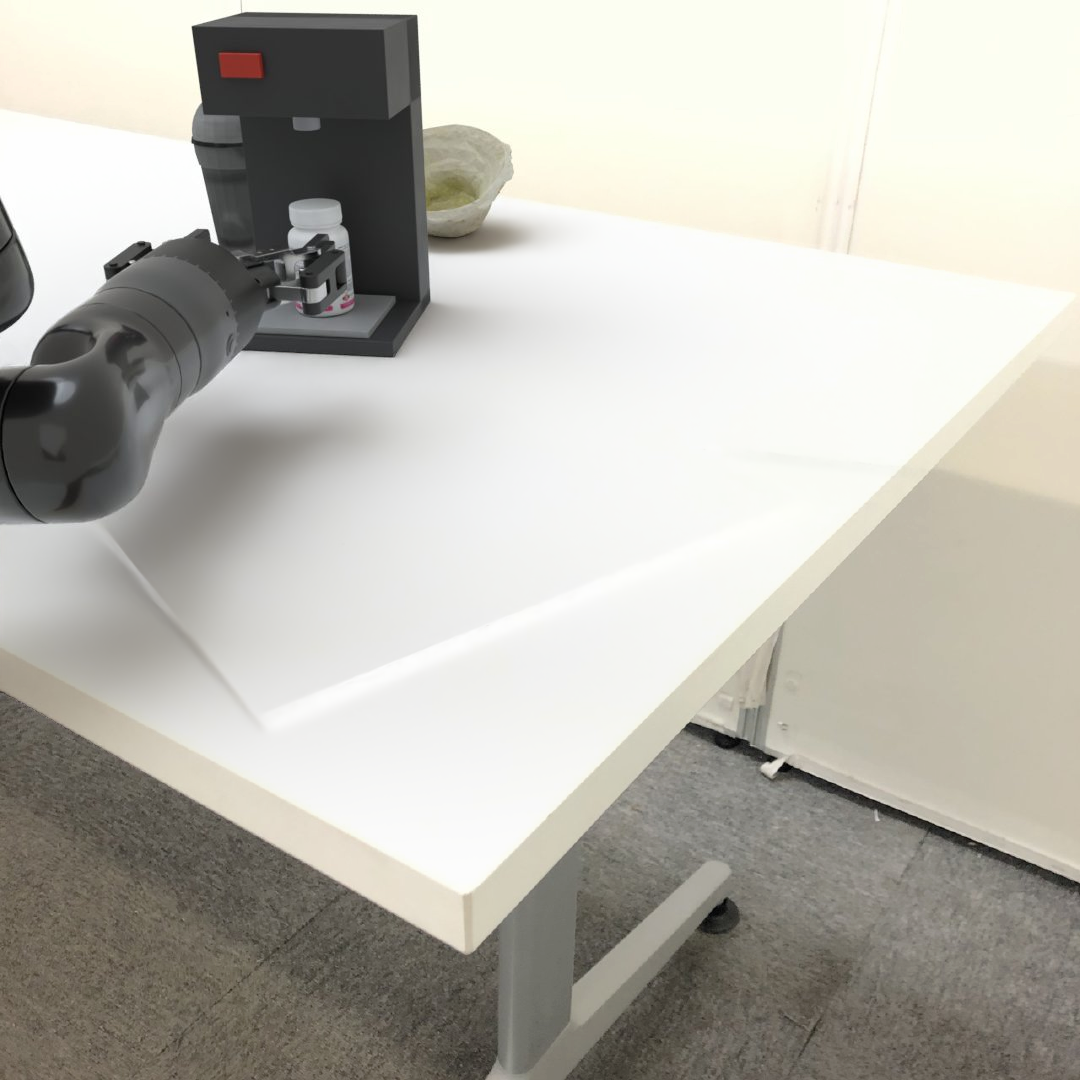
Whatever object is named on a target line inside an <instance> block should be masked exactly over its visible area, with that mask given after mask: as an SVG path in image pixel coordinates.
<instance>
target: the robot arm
mask: <svg viewBox="0 0 1080 1080" xmlns="http://www.w3.org/2000/svg"><path fill="white" fill-rule="evenodd" d="M270 261H274V265H275V272H274V271H273V270H272V269H271V268H270V267H269V266H267V265H266V264H265V263H266V262H270ZM300 261H303V266H304V267H302V268H299V269H298V270H299V278H297V279H296V274H295V264H296V263H297V262H300ZM102 266H103V271H104V277H105V282H104V283H103V284H102V285H101V286H100V287H99V289H97V291H96V292H95V293H94V294H93V295H92V296H91V297H89V298H88V299H86V300H85V301H83V302H82V303H80V304H79V305H77V306H76V307H74V308H73V309H71V310H70V311H69V312H67V313H66V314H65V315H63V316H62V317H60V318H59V319H58V320H57V321H55V322H54V323H53V324H52V325H51V326H49V328H47V330H46V331H45V332H44V333H43V334H42V336H41V337H40V338H39V339H38V341H37V343H36V345H35V346H34V349H33V351H32V353H31V358H30V361H29V365H15V366H13V365H12V366H0V526H23V525H25V526H26V525H49V524H51V525H59V524H60V525H62V524H83V523H89V522H95V521H98V520H101V519H104V518H106V517H109V516H111V515H113V514H114V513H116V512H118V511H120V510H122V509H123V508H125V507H126V506H127V505H129V504H130V503H131V502H133V501H134V499H135V498H137V497H138V495H139V494H140V493H141V491H142V490H143V488H144V486H145V484H146V481H147V479H148V476H149V471H150V468H151V463H152V461H153V460H152V459H153V456H154V452H155V450H156V446H157V444H158V441H159V438H160V435H161V434H162V433H161V432H162V431H163V427H164V424H165V421H166V420H167V419H168V418H169V417H170V416H171V415H173V413H174V412H175V411H176V410H177V409H178V408H179V407H180V406H181V405H182V404H183V403H184V402H185V401H186V400H187V399H189V398H190V397H192V396H194V395H195V394H197V393H199V392H200V391H201V390H203V389H204V388H205V387H207V385H209V384H210V383H211V381H213V380H214V379H215V378H216V376H218V375H219V374H220V372H221V371H222V370H224V369H225V368H226V366H228V364H230V363H231V362H232V361H233V360H234V358H236V357H237V355H238V354H240V353H241V351H243V350H244V349H243V348H244V347H245V346H246V345H247V344H248V343H249V342H250V340H251V339H252V337H253V336H254V334H255V332H256V330H257V328H258V325H259V323H260V320H261V317H262V315H263V313H264V312H266V311H268V310H271V309H274V308H276V307H278V306H279V305H282V304H286V303H289V302H302V308H303V314H305V315H310V316H315V315H318V314H321V313H322V312H323V311H324V310H326V309H327V308H328V307H329V306H330V305H331V304H332V303H333V302H334V301H335V300H336V299H337V298H338V297H340V296H341V295H342V294H343V293H344V292H345V291H346V290H347V289H348V287H347V275H346V262H345V252H344V251H342V250H339V249H335V242H334V241H330V240H329V235H328V234H316V235H315V236H314V237H313V238H312V239H311V240H310V241H309V242H308V243H306V244H305V245H304V246H303V247H302V248H298V249H294V250H290V249H287V248H284V247H281V246H273V247H268V248H264V249H260V250H255V251H251V252H245V251H242V250H237V251H233V252H229V251H228V250H226V249H224V248H223V247H221V246H219V244H217V243H215V242H213V241H212V239H211V232H210V230H209V229H208V228H196V229H195V230H193V231H192V232H190V233H188V234H187V235H185V236H183V237H180V238H179V237H178V238H175V239H168V240H166V241H163V242H162V243H161V244H160V245H158V246H157V247H155V248H153V245H152V243H151V242H150V241H145V240H139V241H137V242H133V243H132V244H131V245H129V246H128V247H126V248H125V249H123V250H122V251H121V252H120V253H118V254H117V255H116V256H114V257H112V258H111V259H110V260H109V261H107V262H106V263H105V264H103V265H102ZM35 288H36V287H35V278H34V273H33V270H32V267H31V264H30V260H29V258H28V255H27V253H26V250H25V248H24V246H23V244H22V242H21V239H20V237H19V235H18V233H17V231H16V229H15V226H14V223H13V221H12V219H11V217H10V214H9V213H8V210H7V208H6V205H5V204H4V201H3V199H2V197H1V196H0V334H1V333H3V332H5V331H6V330H8V329H9V328H11V327H12V326H14V325H15V324H16V323H17V322H18V321H19V320H20V319H21V318H22V317H23V316H24V315H25V313H26V312H27V311H28V310H29V308H30V307H31V304H32V302H33V299H34V295H35Z"/></svg>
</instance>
